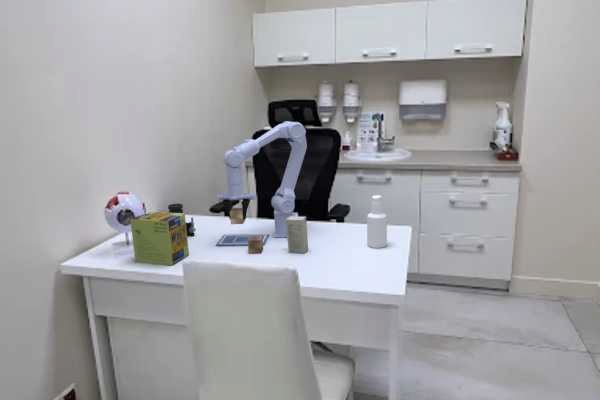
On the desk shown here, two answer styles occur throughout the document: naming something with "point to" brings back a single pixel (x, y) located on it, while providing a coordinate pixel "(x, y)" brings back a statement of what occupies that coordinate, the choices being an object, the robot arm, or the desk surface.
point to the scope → (178, 209)
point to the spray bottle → (376, 224)
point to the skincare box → (297, 234)
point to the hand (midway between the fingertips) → (237, 218)
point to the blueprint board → (239, 239)
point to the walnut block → (255, 244)
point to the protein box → (159, 237)
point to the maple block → (237, 216)
